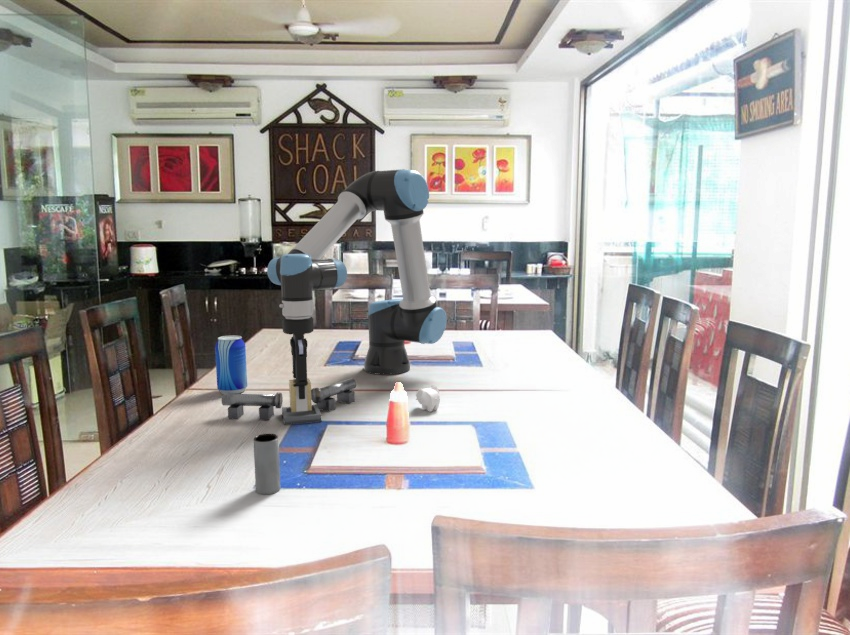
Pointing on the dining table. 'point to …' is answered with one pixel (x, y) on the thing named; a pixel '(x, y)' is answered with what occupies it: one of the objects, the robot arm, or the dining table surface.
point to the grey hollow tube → (266, 463)
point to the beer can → (231, 364)
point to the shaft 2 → (340, 389)
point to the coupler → (293, 395)
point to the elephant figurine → (428, 398)
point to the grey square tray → (301, 416)
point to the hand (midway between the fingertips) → (300, 407)
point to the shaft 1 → (252, 404)
